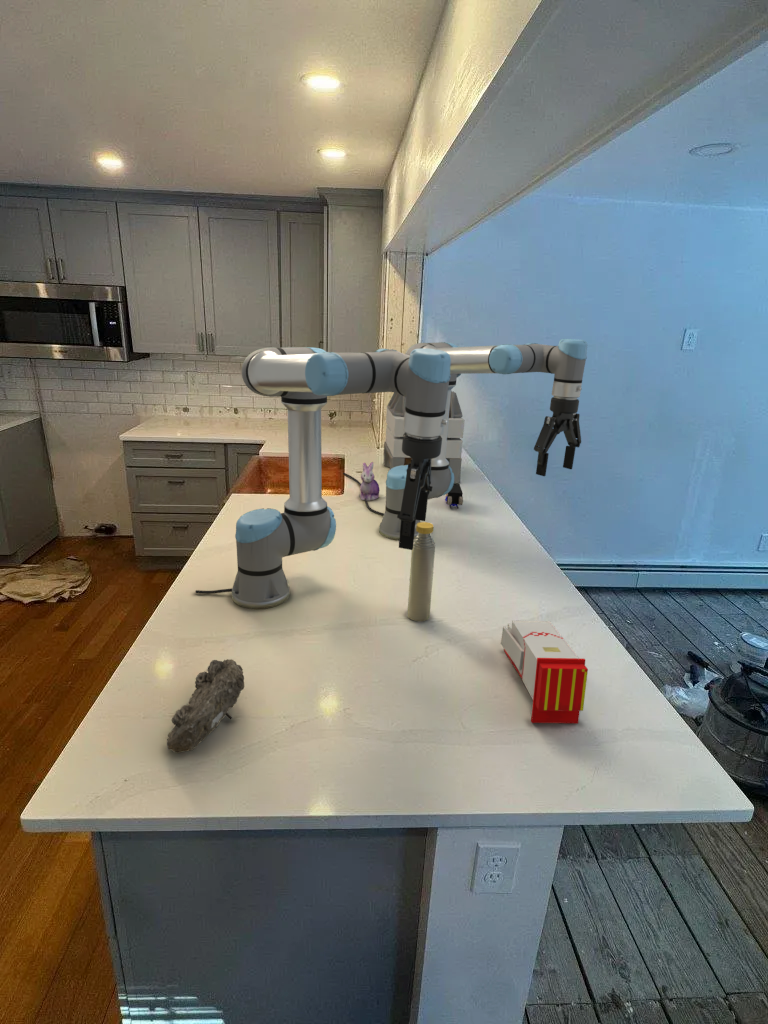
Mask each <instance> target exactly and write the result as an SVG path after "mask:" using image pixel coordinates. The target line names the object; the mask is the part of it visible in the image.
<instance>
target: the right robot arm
mask: <svg viewBox="0 0 768 1024" xmlns="http://www.w3.org/2000/svg"><path fill="white" fill-rule="evenodd" d="M420 348H427V349H435V350H441V351H445V352H447V353H448V354H449V355H450V358H451V365H450V380H449V386H448V394H447V402H446V409H445V417H444V418H443V419H446V420H447V424H446V425H443V433H442V435H440V436H441V437H442V445H441V453H440V455H439V456H438V457H436V458H433V459H431V484H430V485H429V486H433V488H432V492H430V491H426V492H428V500H431V499H437V498H440V497H443V496H446V494H447V493H448V492H449V491H450V490H451V489H452V487H453V484H454V473H452V469H451V467H450V466H449V462H448V461H447V459H446V458H445V455H446V443H447V431H448V420H449V408H450V396H451V391H452V390H453V388H455V387H456V386H457V378H459V377H460V376H461V375H463V374H468V375H469V374H499V375H512V374H526V373H527V374H528V373H545V374H551V375H553V383H552V389H551V398H550V404H549V410H550V412H551V413H552V415H551V416H549V415H548V416H547V415H546V416H545V417H544V421H543V425H542V427H541V430H540V432H539V435H538V437H537V439H536V441H535V444H534V447H533V451H535V452H537V453H538V454H537V461H536V470H535V475H538V476H541V477H546V476H547V468H548V463H549V461H548V460H549V454H550V453H549V450H550V448H551V446H552V445H553V443H554V442H555V439H556V437H557V436H558V435H560V433H562V432H563V434H564V437H565V440H566V442H567V445H566V446H565V451H564V456H563V463H562V468H564V469H568V470H573V466H574V461H575V460H574V459H575V454H576V448H580V447H581V444H582V435H581V426H580V417H581V415H580V413H578V412H579V405H580V400H579V398H580V397H581V393H582V392H581V391H582V390H583V389H582V385H583V377H584V372H585V366H586V361H587V358H588V356H587V354H588V342H587V341H586V340H584V339H572V338H561V339H560V340H559V342H558V344H557V345H549V344H540V343H535V342H534V343H533V342H532V343H524V344H511V343H510V344H507V343H506V344H500V345H479V346H478V345H477V346H474V345H473V346H459V345H457V344H455V343H452V342H445V341H444V342H442V341H441V342H440V341H439V342H417V343H415V344H412V345H411V346H410V347H409V348H407V350H406V351H405V353H404V354H407V355H410V354H411V352H412V351H413V350H414V349H420ZM407 468H408V465H401V466H396V467H394V468H392V469H390V468H389V470H388V472H387V474H386V479H385V504H384V505H385V507H384V508H385V509H384V512H380V511H378V510H375V509H374V508H372V507H370V505H369V501H367V499H366V498H365V499H364V500H363V501H364V503H365V505H366V508H367V509H368V510H369V511H370V512H372V513H374V514H377V515H380V516H382V519H381V522H379V525H378V533H379V534H380V535H381V536H382V537H385V538H387V539H389V540H395V541H399V538H400V528H401V520H399V518H397V515H398V514H399V515H400V511H401V506H402V500H403V494H404V488H405V482H406V475H407ZM342 475H344V476H346V477H348V478H349V479H351V480H352V481H355V482H356V483H357V484H358V485H359V486H361V483H362V482H360V481H359V480H358V479H356V478H355V477H354V476H352V475H350V474H348V473H346V472H343V473H342ZM420 522H421V521H420V520H416V524H415V533H414V539H415V538H416V537H417V535H418V534H419V533H418V532H417V531H416V526H417V523H420Z"/></svg>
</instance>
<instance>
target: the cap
mask: <svg viewBox="0 0 768 1024" xmlns="http://www.w3.org/2000/svg"><path fill="white" fill-rule="evenodd" d="M416 531H417V532H418V533H421V534H430V535H431V534H433V533H434V524H433V523H431V522H429V521H427V522H426V521H420V523H417V526H416Z"/></svg>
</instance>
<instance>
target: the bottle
mask: <svg viewBox="0 0 768 1024" xmlns="http://www.w3.org/2000/svg"><path fill="white" fill-rule="evenodd" d="M435 553H436V542H435V541H434V539H433V537H432V535H431V533H430V534H421V533H419V534H418V535H417V537H416V538H415V539H414V543H413V549H412V550H411V553H410V568H409V584H408V585H409V586H408V599H407V600H408V601H407V618H409V620H411V621H414V622H425V621H427V620H429V619H430V618H431V617H430V616H431V605H432V604H431V603H432V592H433V591H432V590H433V578H434V568H435V567H434V565H435Z"/></svg>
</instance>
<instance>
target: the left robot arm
mask: <svg viewBox="0 0 768 1024" xmlns="http://www.w3.org/2000/svg"><path fill="white" fill-rule="evenodd" d="M450 365H451V358H450V355H449V354H448V353H447V352H445V351H441V350H435V349H427V348H420V349H414V350H413V351H412V352H411V354H410V355H407V354H405V353H403V352H400V351H398V350H397V349H390V348H378V349H377V350H375V351H366V352H365V351H363V352H362V351H361V352H334V351H327V350H324V349H323V348H319V347H309V346H298V347H297V346H295V347H294V346H293V347H264V348H259V349H257V350H254V351H252V352H251V353H250V354H248V355H247V356H246V358H245V359H244V360H243V363H242V366H241V377H242V380H243V383H244V384H245V386H246V387H247V389H249V390H250V391H251V392H253V393H254V394H257V395H259V396H263V397H270V398H273V397H275V398H278V397H280V402H281V404H282V405H283V406H284V407H285V408H286V409H287V445H288V447H287V448H288V486H289V487H288V488H289V491H288V492H289V497H288V499H287V500H286V501H284V502H283V508H284V509H283V512H280V511H279V510H278V509H277V508H276V509H275V508H257V509H253V510H250V511H247V512H245V513H244V514H242V515H241V516H240V517H239V518H238V519H237V521H236V523H235V535H234V537H235V543H236V545H235V546H236V561H237V563H236V565H237V571H236V572H237V573H236V576H235V579H234V581H233V585H232V587H231V588H224V589H223V588H222V589H214V590H199V589H198V590H197V589H196V590H195V592H194V593H195V594H199V595H201V594H202V595H212V594H214V595H215V594H221V593H231V599H232V601H233V603H235V604H236V605H237V606H240V607H242V608H246V609H251V610H264V609H270V608H274V607H277V606H279V605H281V604H283V603H285V602H286V601H287V600H288V599H289V598H290V595H291V593H290V592H291V591H290V584H289V579H288V578H287V576H286V574H285V571H284V570H283V569H284V568H283V558H285V557H290V556H295V555H299V554H304V553H307V552H313V551H319V550H320V549H323V548H326V547H328V546H329V545H330V544H331V543H332V542H333V540H334V538H335V536H336V531H337V521H336V520H337V519H336V518H335V513H334V511H333V510H332V508H331V507H329V506H328V502H327V501H326V500H325V499H324V498H323V494H322V493H323V491H322V490H323V488H322V487H323V485H322V484H323V483H322V482H323V481H322V478H323V476H322V472H323V471H322V468H323V467H322V462H323V461H322V410H323V408H324V407H325V406H326V405H327V404H328V397H334V396H342V395H344V396H345V395H354V394H355V395H356V394H377V393H379V394H380V393H393V394H394V393H397V394H400V395H402V396H405V397H406V406H405V415H404V426H403V430H404V432H405V433H404V434H403V441H402V452H403V453H404V454H405V455H407V456H409V457H411V458H412V459H411V463H409V464H408V468H407V475H406V482H405V488H404V494H403V500H402V506H401V511H400V515H399V514H398V515H397V518H399V520H401V528H400V538H399V540H398V548H399V549H403V550H409V551H412V549H413V543H414V533H415V524H416V520H420V522H426V518H427V508H428V501H429V499H428V492H426V491H430V492H432V488H433V486H429V485H430V484H431V459H433V458H436V457H438V456H439V455H440V453H441V445H442V437H441V436H440V435H442V433H443V425H446V424H447V420H446V419H443V418H444V417H445V409H446V402H447V394H448V386H449V380H450Z"/></svg>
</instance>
